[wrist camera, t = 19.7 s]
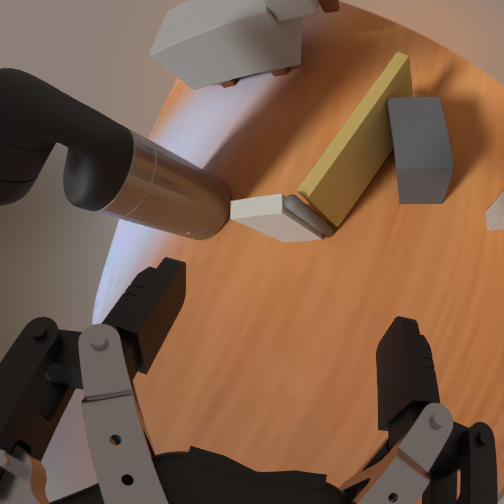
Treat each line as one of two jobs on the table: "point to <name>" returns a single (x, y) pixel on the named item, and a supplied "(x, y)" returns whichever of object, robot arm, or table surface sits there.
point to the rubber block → (420, 149)
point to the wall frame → (309, 217)
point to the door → (358, 146)
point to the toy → (233, 38)
